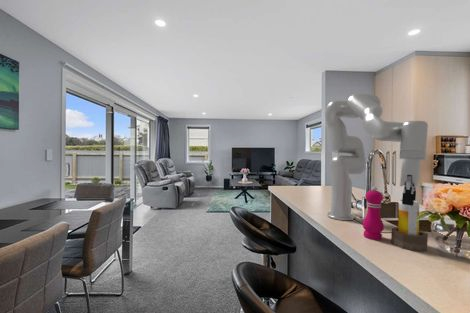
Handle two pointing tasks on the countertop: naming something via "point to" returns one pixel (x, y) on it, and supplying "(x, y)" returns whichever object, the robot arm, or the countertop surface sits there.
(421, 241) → the socket
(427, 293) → the countertop surface
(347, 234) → the countertop surface
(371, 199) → the pepper mill
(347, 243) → the countertop surface
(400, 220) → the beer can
